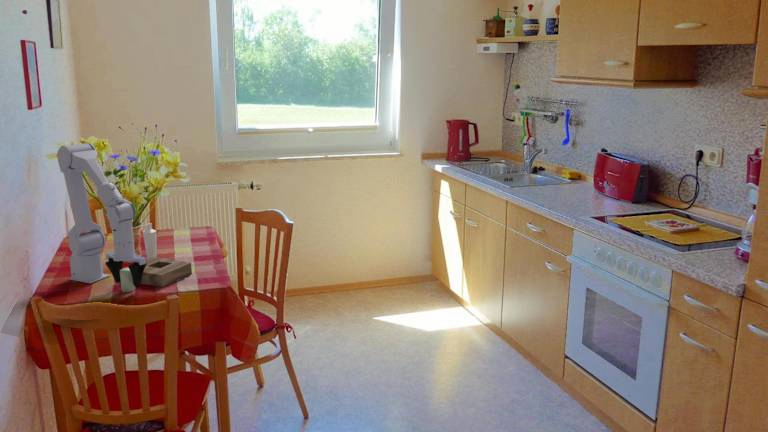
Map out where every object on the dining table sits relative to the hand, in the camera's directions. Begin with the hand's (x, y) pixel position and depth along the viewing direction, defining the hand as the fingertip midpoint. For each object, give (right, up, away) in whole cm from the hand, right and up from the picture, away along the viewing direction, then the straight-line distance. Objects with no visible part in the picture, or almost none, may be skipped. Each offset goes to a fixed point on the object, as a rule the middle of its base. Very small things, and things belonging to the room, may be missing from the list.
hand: (128, 283), depth 199 cm
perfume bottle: (-1, +4, +24) cm, 25 cm away
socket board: (+5, +1, +12) cm, 13 cm away
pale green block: (0, -2, +1) cm, 2 cm away
